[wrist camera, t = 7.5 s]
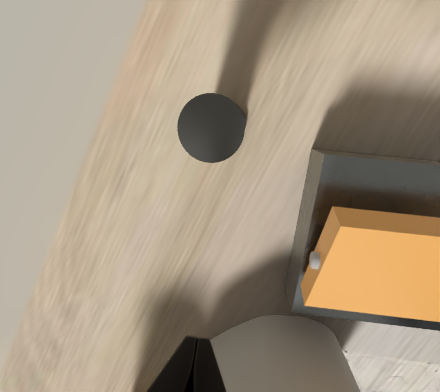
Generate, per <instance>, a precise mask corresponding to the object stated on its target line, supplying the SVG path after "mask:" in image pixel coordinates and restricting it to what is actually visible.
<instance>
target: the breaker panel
mask: <svg viewBox="0 0 440 392" xmlns="http://www.w3.org/2000/svg"><path fill="white" fill-rule="evenodd" d="M332 206H334V207H343V208H353V209H362V210H372V211H381V212H391V213H400V214H410V215H419V216H428V217H438V218H440V161H432V160H421V159H411V158H401V157H391V156H380V155H370V154H360V153H350V152H339V151H329V150H319V149H311V155H310V160H309V165H308V170H307V175H306V180H305V186H304V191H303V196H302V201H301V206H300V211H299V217H298V222H297V227H296V232H295V237H294V242H293V248H292V253H291V258H290V263H289V268H288V273H287V279H286V284H285V290H286V294H287V298H288V301H289V305H290V309H291V312H292V313H299V314H308V315H316V316H324V317H332V318H340V319H348V320H357V321H365V322H373V323H381V324H389V325H398V326H406V327H414V328H422V329H430V330H438V331H440V322H435V321H427V320H418V319H410V318H402V317H394V316H385V315H377V314H369V313H361V312H352V311H344V310H336V309H328V308H319V307H311V306H304V301H303V295H302V290H301V282H302V280H303V277H304V275H305V272H306V270H307V267H308V265H309V258H310V254H311V252H312V251H313V252H314V250H315V248H316V245H317V243H318V240H319V238H320V235H321V233H322V231H323V228H324V226H325V223H326V221H327V218H328V216H329V213H330V211H331V208H332Z"/></svg>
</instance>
